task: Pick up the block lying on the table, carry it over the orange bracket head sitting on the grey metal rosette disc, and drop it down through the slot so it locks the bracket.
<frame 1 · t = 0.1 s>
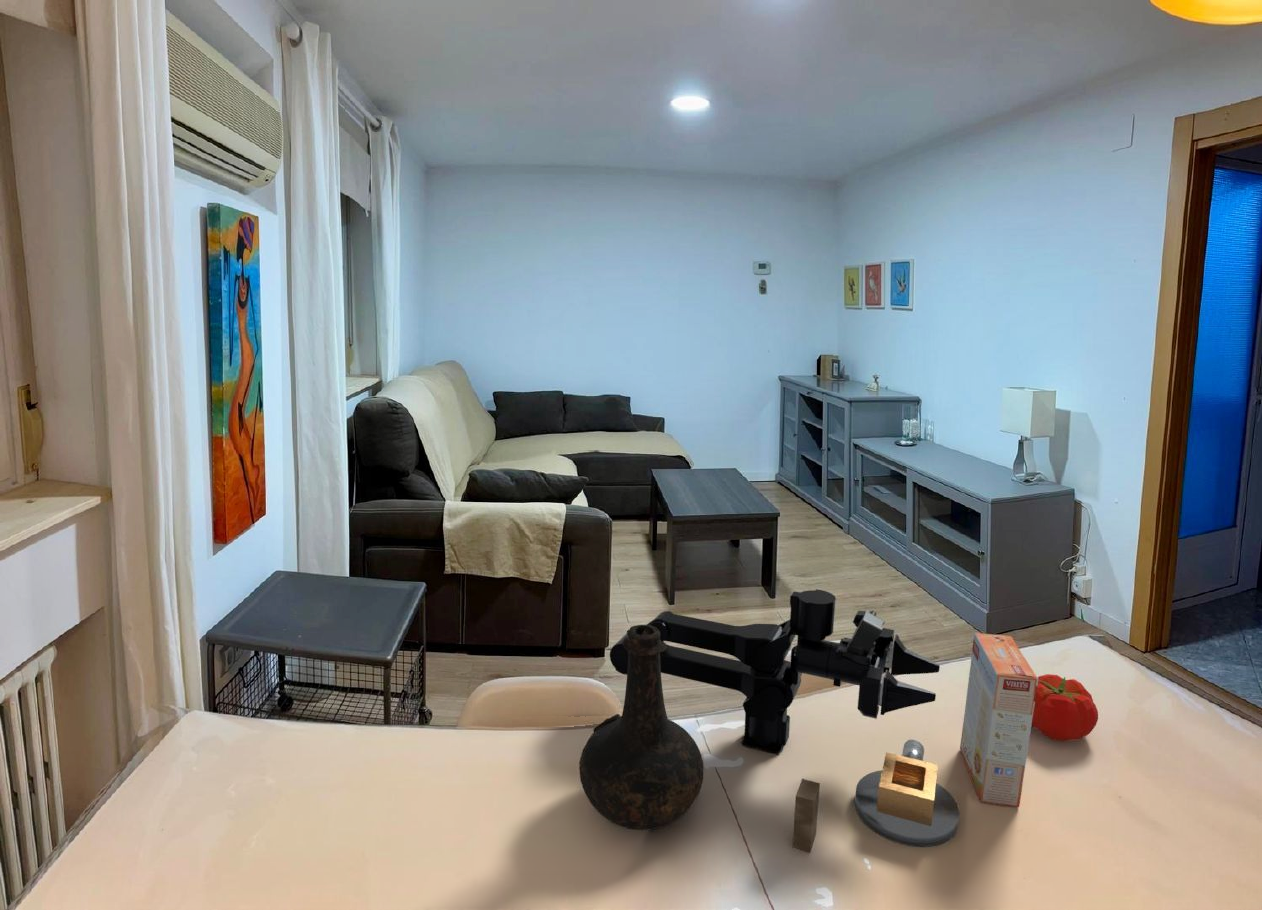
hand: (937, 682, 115), 17 cm above the table, tool horizontal, fingers open, 9 cm apart
cracker box: (988, 778, 120), on the table
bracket: (905, 811, 112), on the table
tomato: (1052, 730, 133), on the table
glass bottle: (640, 808, 112), on the table
block: (804, 840, 106), on the table
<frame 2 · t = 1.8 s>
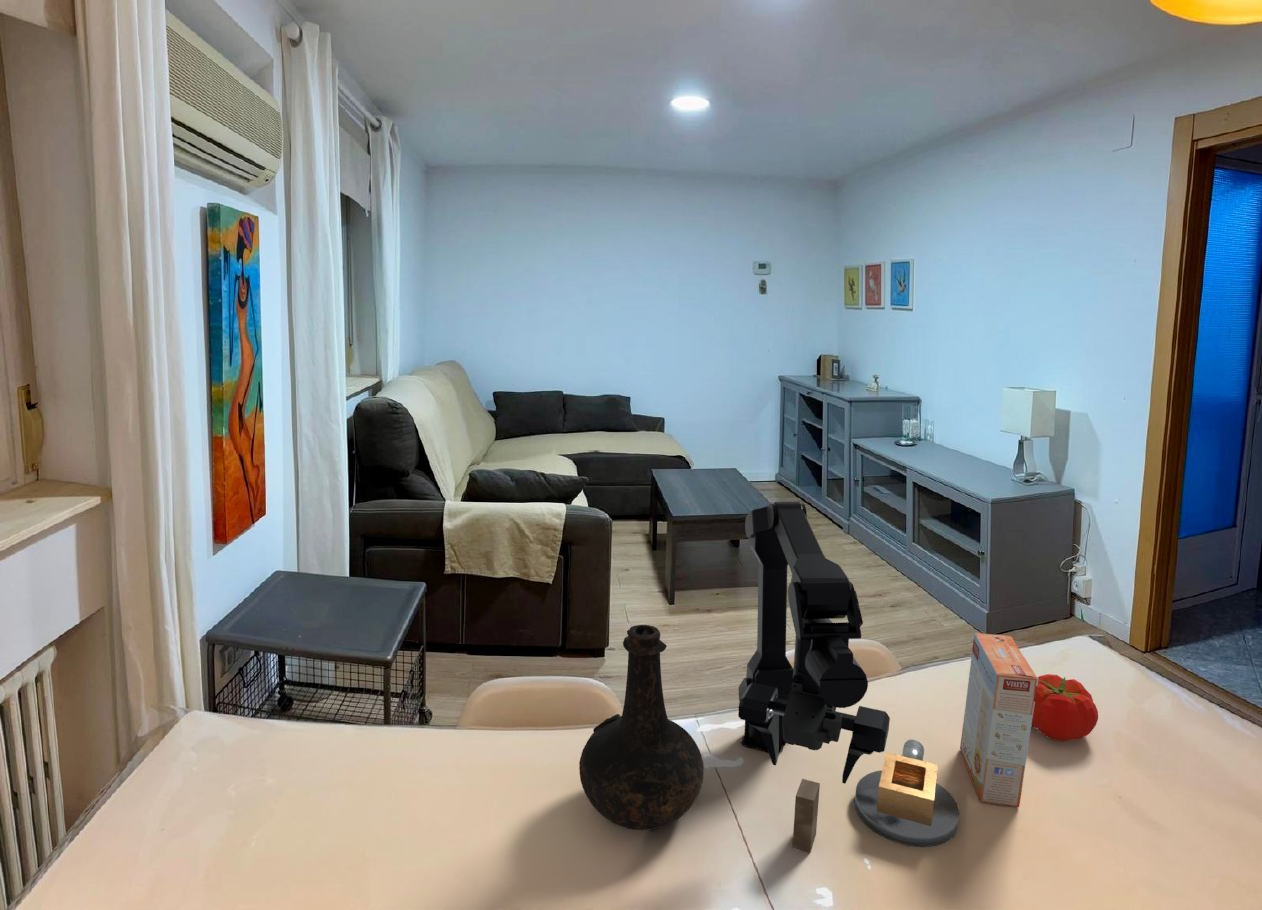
hand: (809, 772, 104), 10 cm above the table, tool pointing down, fingers open, 9 cm apart
nothing on the table moved.
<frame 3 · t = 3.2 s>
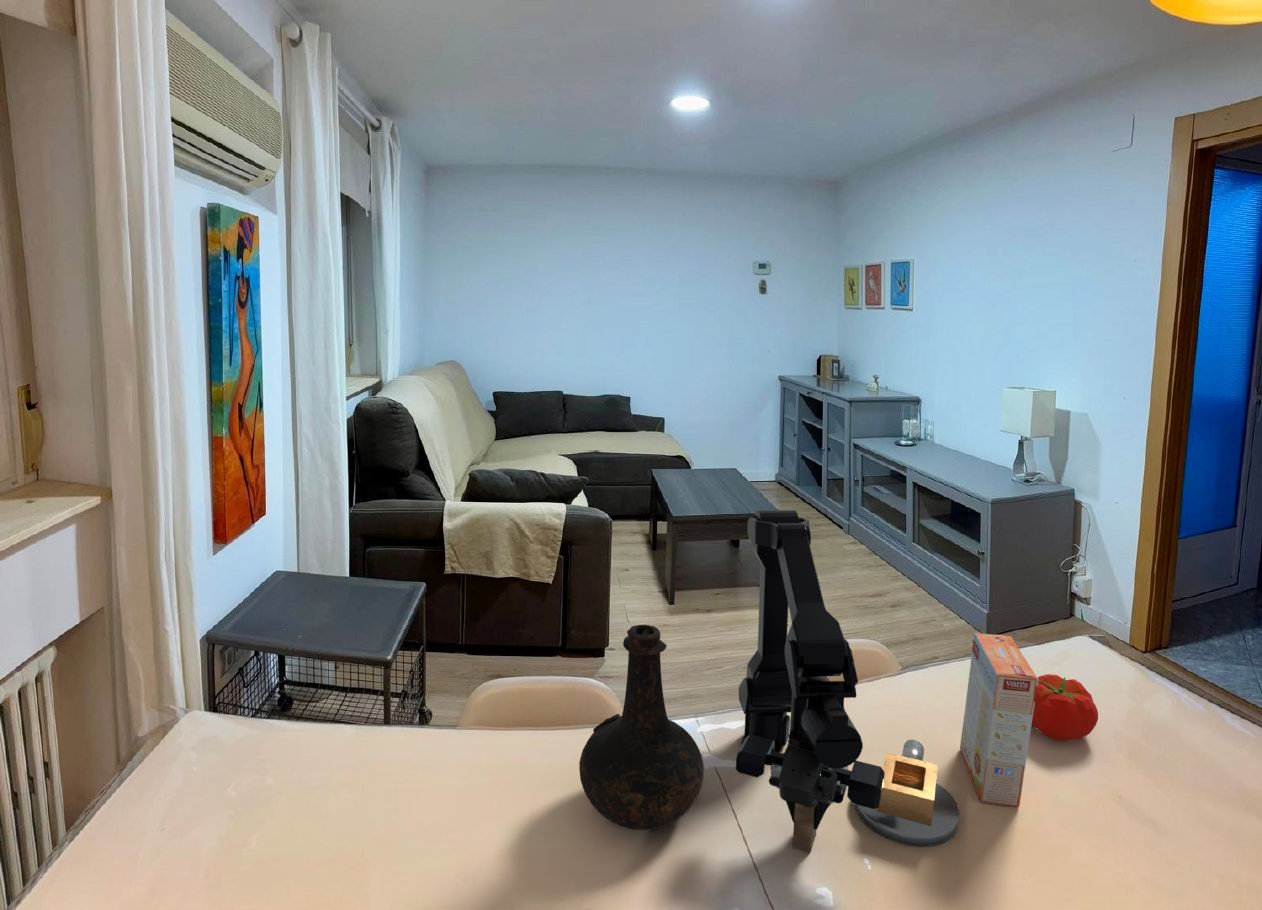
hand: (805, 824, 105), 3 cm above the table, tool pointing down, fingers closed on block, 2 cm apart
block: (804, 840, 106), on the table, touching gripper
everything else where it was.
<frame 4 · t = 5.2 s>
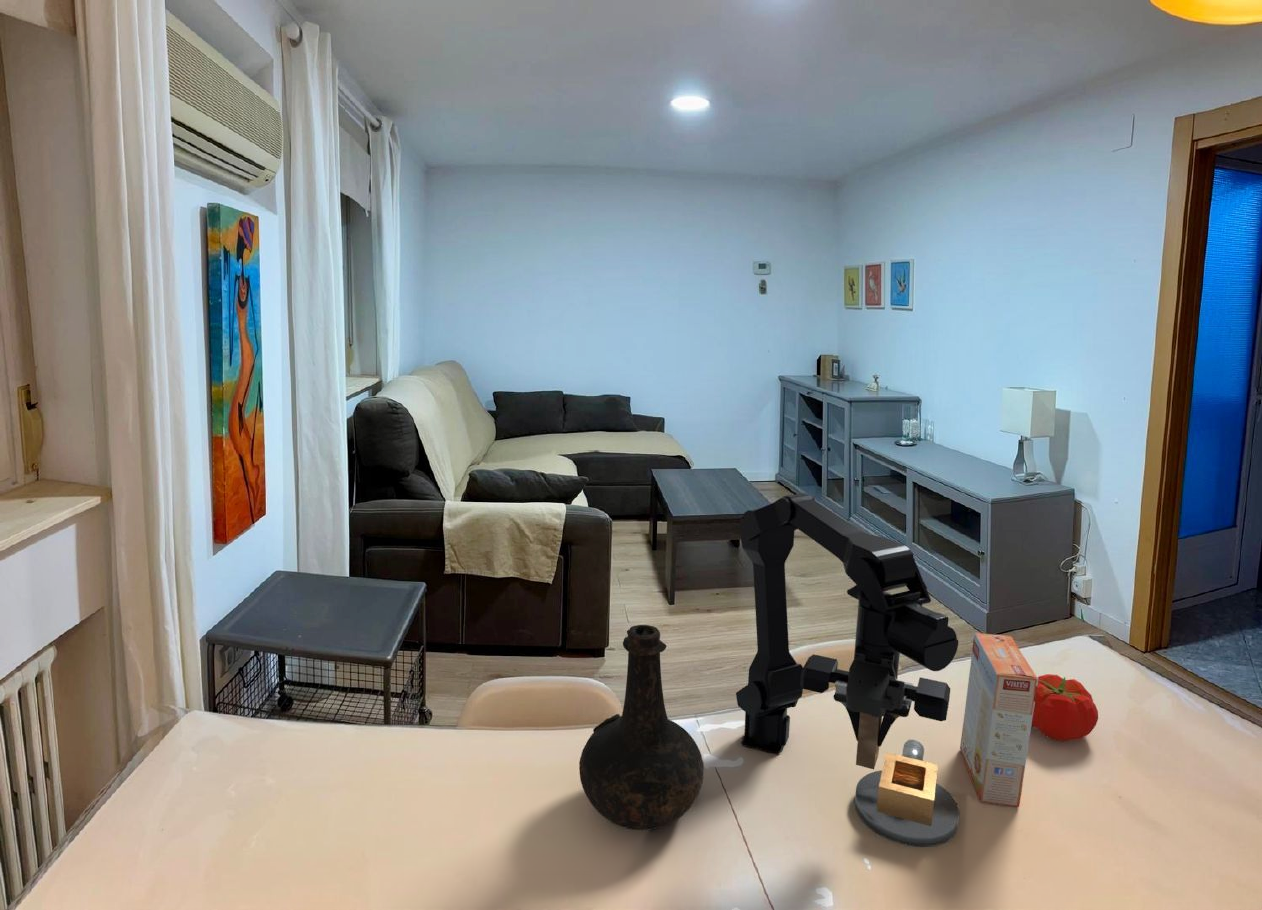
hand: (869, 742, 106), 13 cm above the table, tool pointing down, fingers closed on block, 2 cm apart
block: (867, 759, 107), point 10 cm above the table, touching gripper
everything else where it was.
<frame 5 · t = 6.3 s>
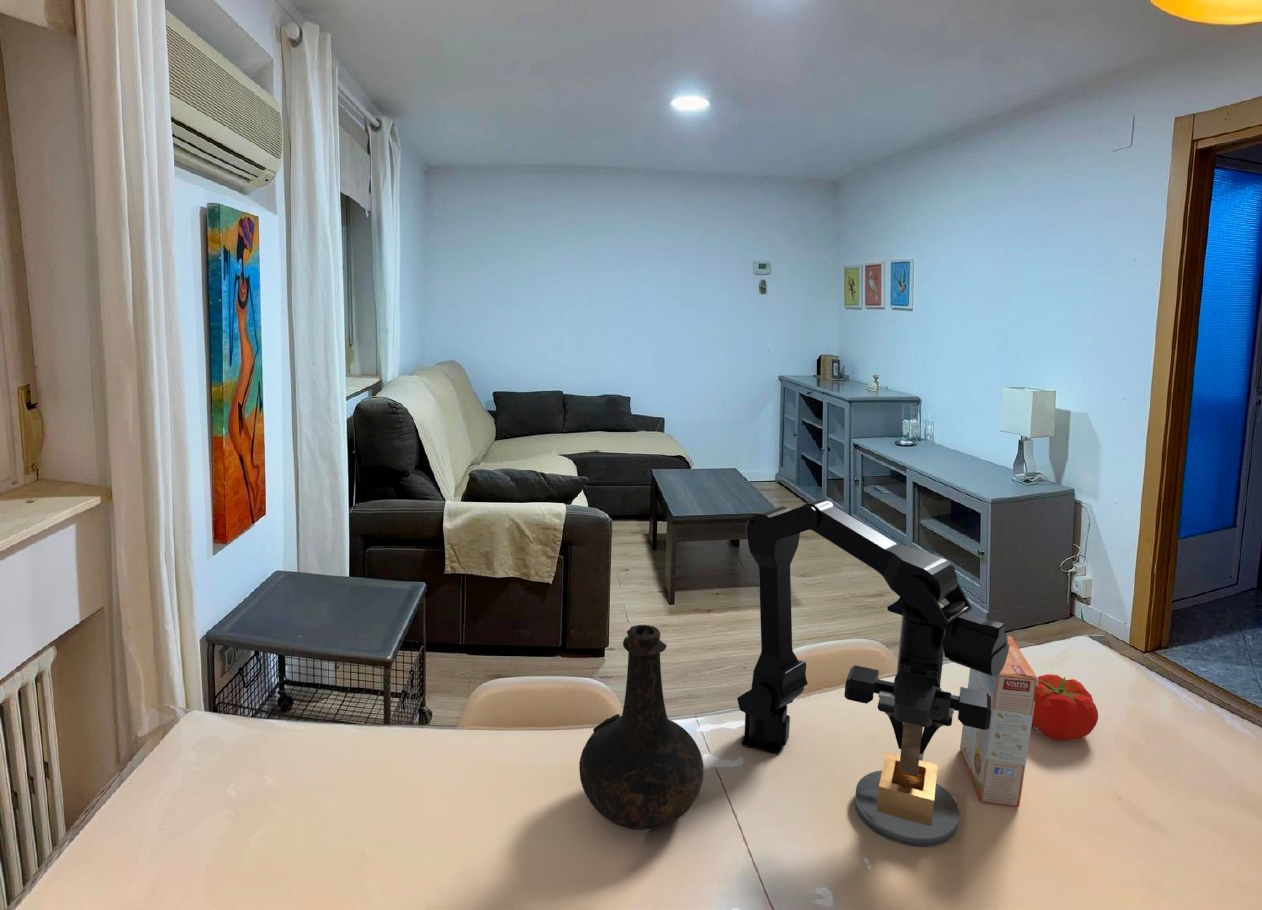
hand: (910, 750, 110), 10 cm above the table, tool pointing down, fingers closed on block, 2 cm apart
block: (909, 766, 110), point 7 cm above the table, touching gripper
everything else where it was.
when the fingers open (7 cm above the table, at t = 7.0 s): block drops 2 cm, resting on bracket.
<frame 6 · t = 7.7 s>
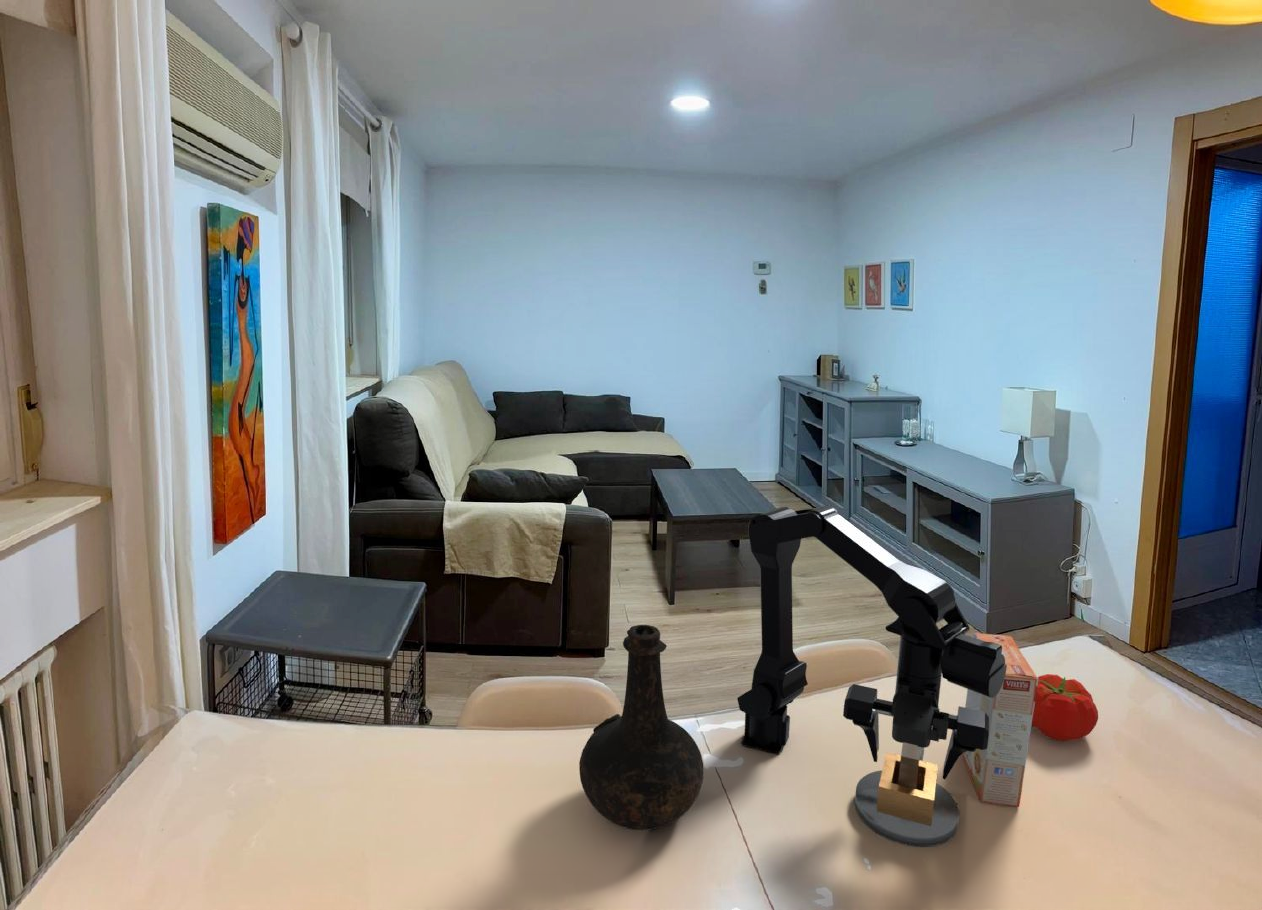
hand: (909, 768, 110), 7 cm above the table, tool pointing down, fingers open, 9 cm apart
block: (905, 799, 111), point 2 cm above the table, touching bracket
everything else where it was.
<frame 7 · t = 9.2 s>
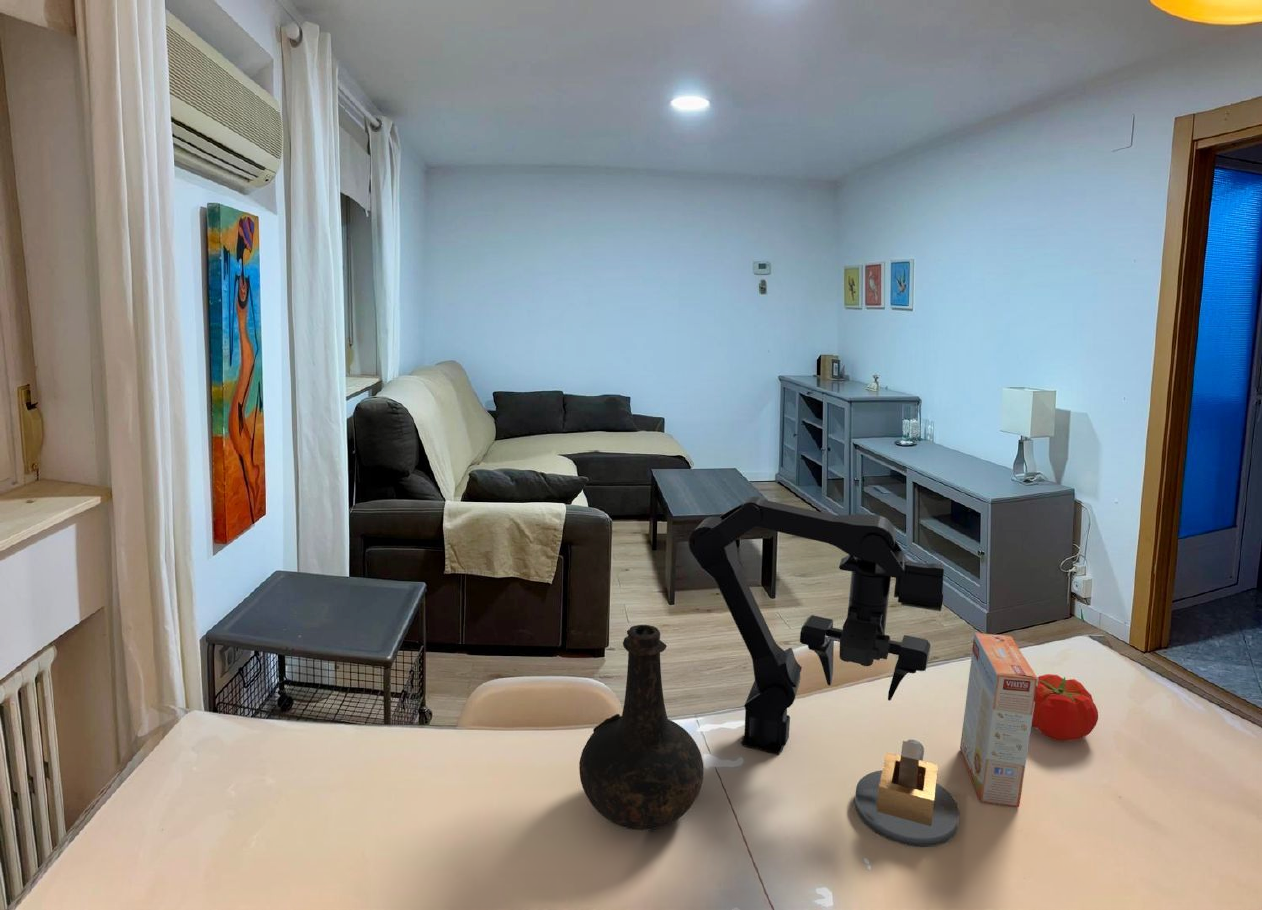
hand: (859, 691, 122), 12 cm above the table, tool pointing down, fingers open, 9 cm apart
nothing on the table moved.
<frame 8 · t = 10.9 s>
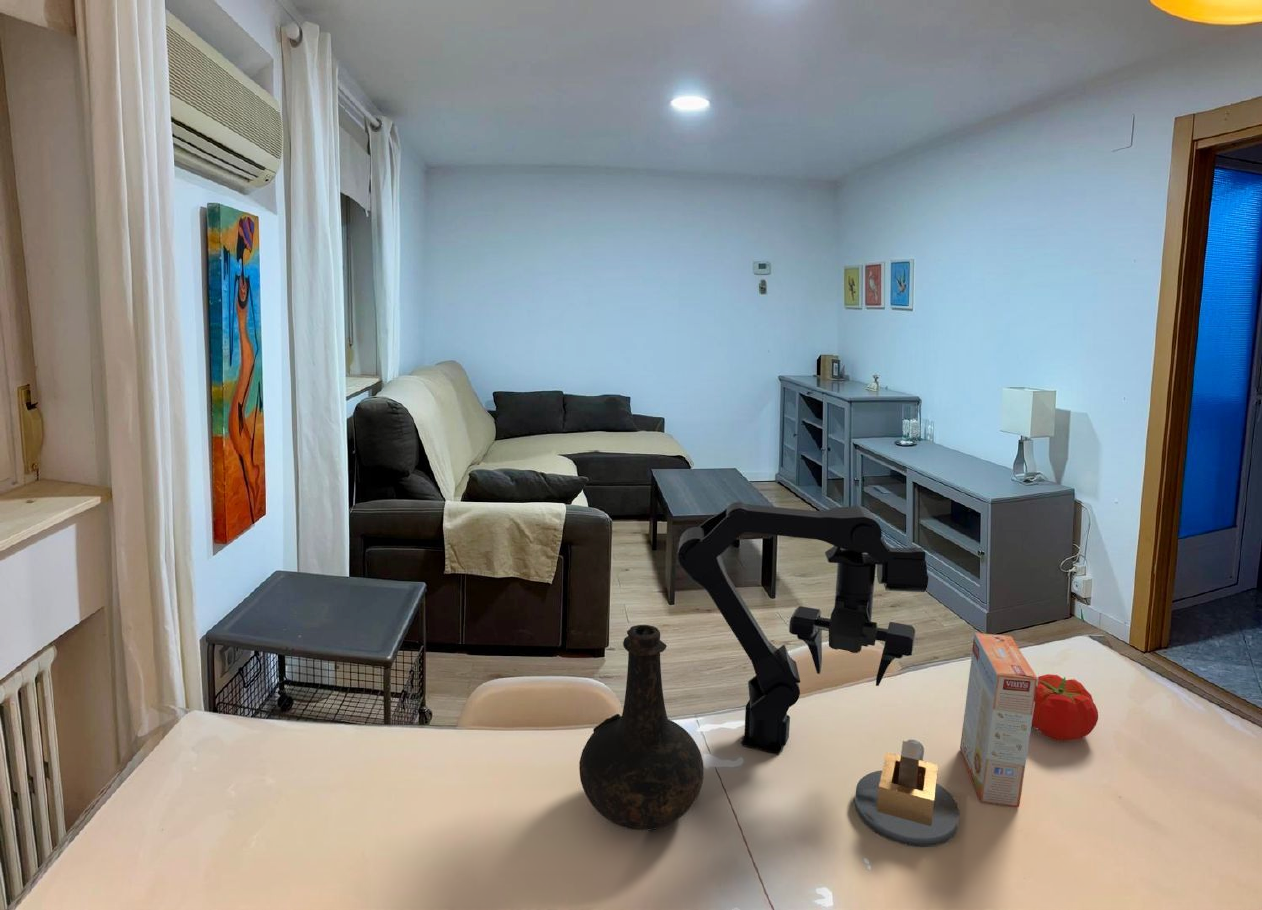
hand: (847, 678, 125), 12 cm above the table, tool pointing down, fingers open, 9 cm apart
nothing on the table moved.
at the end: block 0.1 cm off-centre on the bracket, point 2.0 cm above the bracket's base; block tilted 0°; the gripper is holding nothing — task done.
